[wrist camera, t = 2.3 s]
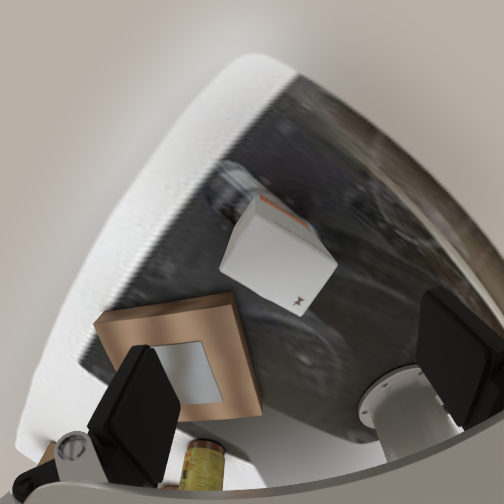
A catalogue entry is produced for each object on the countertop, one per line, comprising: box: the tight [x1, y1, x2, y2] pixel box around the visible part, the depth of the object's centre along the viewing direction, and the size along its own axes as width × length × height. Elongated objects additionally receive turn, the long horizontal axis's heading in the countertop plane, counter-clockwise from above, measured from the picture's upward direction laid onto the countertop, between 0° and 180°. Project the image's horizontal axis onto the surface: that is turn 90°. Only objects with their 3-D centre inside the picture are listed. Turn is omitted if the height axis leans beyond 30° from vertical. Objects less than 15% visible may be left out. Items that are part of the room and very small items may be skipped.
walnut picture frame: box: [93, 291, 262, 421], centre depth 32 cm, size 16×16×3 cm
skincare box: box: [219, 193, 338, 316], centre depth 23 cm, size 6×4×12 cm
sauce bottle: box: [179, 440, 225, 491], centre depth 30 cm, size 7×6×20 cm
